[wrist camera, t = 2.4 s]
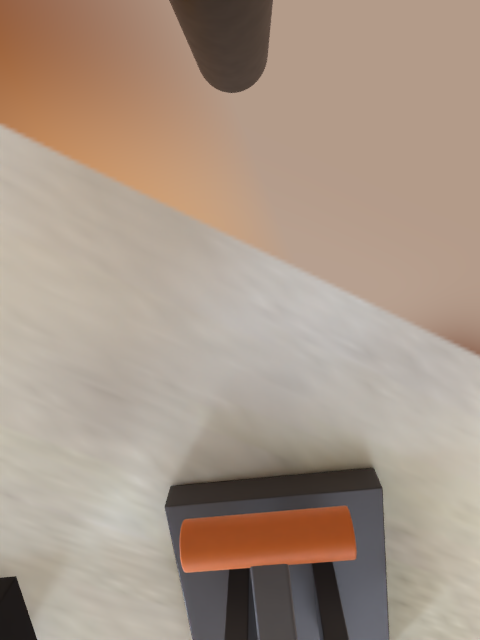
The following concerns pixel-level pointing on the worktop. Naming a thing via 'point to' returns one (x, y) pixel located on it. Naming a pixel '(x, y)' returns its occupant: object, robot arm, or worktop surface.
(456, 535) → the worktop surface
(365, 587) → the switch base
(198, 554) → the switch lever
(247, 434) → the worktop surface
